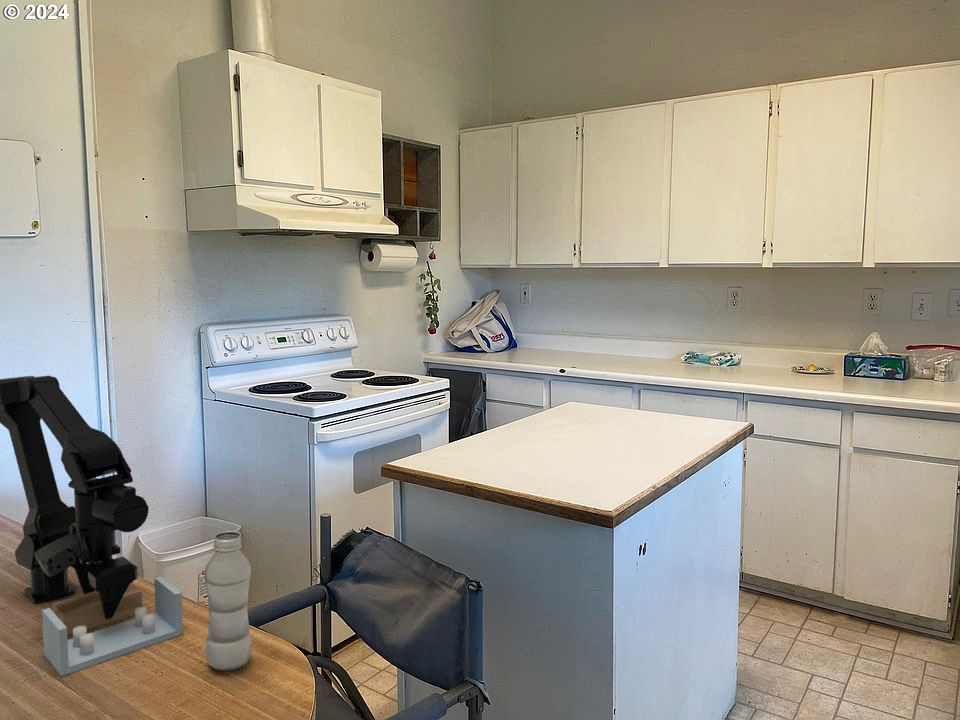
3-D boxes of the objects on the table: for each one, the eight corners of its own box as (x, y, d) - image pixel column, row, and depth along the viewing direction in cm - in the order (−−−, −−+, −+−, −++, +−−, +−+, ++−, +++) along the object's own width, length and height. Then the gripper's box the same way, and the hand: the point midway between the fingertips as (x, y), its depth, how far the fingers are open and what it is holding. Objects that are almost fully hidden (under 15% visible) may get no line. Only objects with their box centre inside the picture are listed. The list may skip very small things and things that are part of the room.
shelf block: (53, 626, 117) (52, 603, 116) (130, 603, 125) (130, 581, 125) (64, 638, 113) (63, 614, 113) (142, 613, 122) (141, 591, 121)
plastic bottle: (238, 679, 103) (237, 546, 101) (195, 672, 105) (193, 541, 102) (260, 656, 110) (260, 530, 107) (220, 649, 111) (218, 525, 108)
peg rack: (43, 653, 108) (41, 609, 107) (161, 615, 121) (160, 576, 120) (61, 676, 103) (59, 630, 102) (182, 634, 115) (181, 592, 114)
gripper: (21, 513, 117) (26, 603, 120) (58, 547, 105) (62, 647, 107) (95, 499, 125) (98, 584, 128) (137, 529, 113) (140, 622, 115)
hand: (98, 608), depth 119 cm, fingers open, 9 cm apart
